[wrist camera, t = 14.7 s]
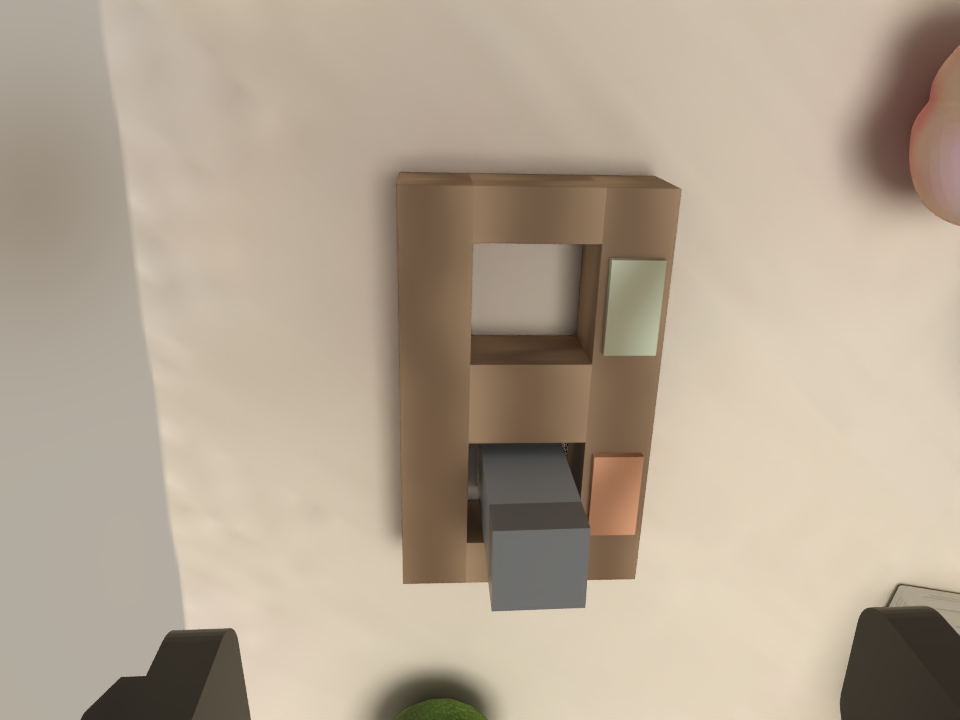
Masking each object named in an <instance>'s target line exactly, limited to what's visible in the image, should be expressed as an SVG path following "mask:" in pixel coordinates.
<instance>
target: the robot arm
mask: <svg viewBox="0 0 960 720" xmlns="http://www.w3.org/2000/svg"><path fill="white" fill-rule="evenodd" d="M840 712H841V719H842V720H960V635H959V634H958V633H957V632H956V631H955V630H954V628H953V627H952V626H951V625H950V624H949V623H948V622H947V621H946V620H945V618H944V617H943V616H942V615H941V614H940V613H939V612H938V611H936V610H935V609H933V608H931V607H929V606H902V607H874V608H867V609H865V610H864V611H863V612H862V613H861V615H860V617H859V620H858V623H857V628H856V632H855V636H854V640H853V645H852V649H851V653H850V658H849V662H848V666H847V670H846V675H845V679H844V683H843V688H842V692H841V698H840ZM81 720H251V718H250V711H249V705H248V699H247V693H246V686H245V680H244V674H243V668H242V662H241V656H240V649H239V643H238V638H237V635H236V633H235V631H234V630H233V629H231V628H226V629H198V630H173V631H171V632H169V633H168V634H167V635H166V637H165V638H164V640H163V642H162V644H161V646H160V648H159V650H158V652H157V654H156V656H155V658H154V660H153V662H152V665H151V667H150V669H149V671H148V673H147V675H146V676H138V677H121V678H120V679H119V680H118V681H117V682H116V683H115V684H113V685H112V686H111V687H110V688H109V689H108V690H107V691H106V692H105V693H104V695H102V696H101V697H100V698H99V699H98V700H97V701H96V702H95V703H94V704H93V705H92V706H91V707H90V708H89V709H88V710H87V711H86V712H85V713H84V714H83V716H82V718H81Z"/></svg>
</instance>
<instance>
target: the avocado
mask: <svg viewBox="0 0 960 720" xmlns="http://www.w3.org/2000/svg"><path fill="white" fill-rule="evenodd" d="M394 720H487V719H486V717H485V716H484V715H483V714H481V713H480V712H479V711H477V710H476V709H475V708H474V707H472V706H471V705H468V704H465V703H462V702H460V701H457V700H454V699H451V698H445V699H428V700H426V701H423V702H420V703H417V704H414V705H412V706H409V707H407V708H406V709H405V710H403V711H402V712H401V713H400V714H399V715H398V716H397V717H396V718H395V719H394Z"/></svg>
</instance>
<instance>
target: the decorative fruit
mask: <svg viewBox="0 0 960 720" xmlns="http://www.w3.org/2000/svg"><path fill="white" fill-rule="evenodd" d="M909 163H910V172H911V177H912V182H913V184H914V187H915V190H916V192H917V194H918V196H919V198H920V199H921V201H922V202H923V203H924V205H925V206H926V207H927V208H928V209H929V210H930V211H931V212H933V213H934V214H935V215H936V216H938V217H940V218H941V219H943V220H945V221H948V222H950V223H953V224H956V225H958V226H960V45H959V46H958V47H957V48H956V49H955V50H954V51H953V52H952V54H951V55H950V56H949V57H948V58H947V59H946V61H945V62H944V63H943V65H942V66H941V67H940V69H939V71H938V72H937V74H936V76H935V78H934V81H933V83H932V86H931V91H930V98H929V101H928V103H927V104H926V105H925V106H924V108H923V109H922V110H921V112H920V113H919V114H918V116H917V118H916V120H915V121H914V124H913V127H912V130H911V137H910V148H909Z"/></svg>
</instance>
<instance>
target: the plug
mask: <svg viewBox="0 0 960 720" xmlns="http://www.w3.org/2000/svg"><path fill="white" fill-rule="evenodd" d="M478 494H479V503H480V512H481V521H482V529H483V538H484V547H485V556H486V565H487V574H488V582H489V591H490V600H491V609H492V611H513V610H538V609H564V608H585V603H586V588H587V574H588V559H589V544H590V530H591V528H590V525H589V522H588V519H587V516H586V513H585V511H584V508H583V505H582V502H581V499H580V496H579V493H578V490H577V488H576V485H575V482H574V479H573V476H572V473H571V470H570V467H569V465H568V462H567V459H566V456H565V453H564V450H563V447H562V444H561V443H478Z"/></svg>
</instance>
